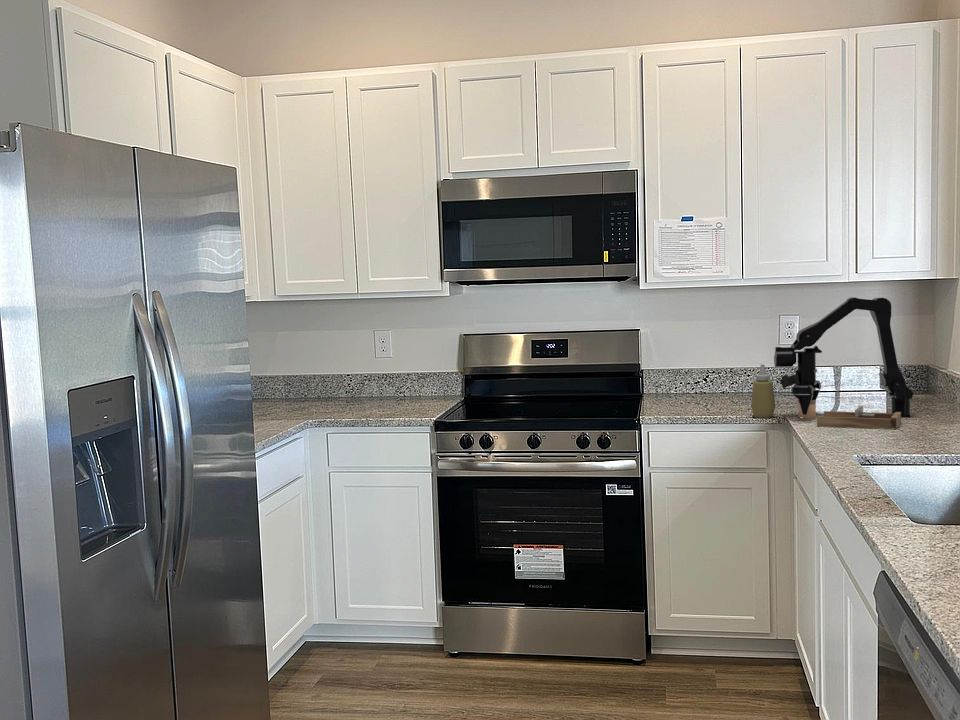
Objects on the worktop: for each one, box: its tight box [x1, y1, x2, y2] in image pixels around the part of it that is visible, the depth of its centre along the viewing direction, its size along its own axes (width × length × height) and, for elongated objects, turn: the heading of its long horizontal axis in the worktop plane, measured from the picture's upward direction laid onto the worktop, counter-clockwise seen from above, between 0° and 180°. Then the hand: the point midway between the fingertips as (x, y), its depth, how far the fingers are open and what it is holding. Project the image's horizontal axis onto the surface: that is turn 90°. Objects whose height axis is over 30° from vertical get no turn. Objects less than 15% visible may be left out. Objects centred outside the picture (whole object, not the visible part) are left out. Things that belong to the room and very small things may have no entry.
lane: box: [816, 410, 902, 430], centre depth 297 cm, size 14×23×4 cm, turn 60°
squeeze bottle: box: [750, 364, 776, 419], centre depth 321 cm, size 8×8×18 cm
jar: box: [797, 399, 817, 419], centre depth 316 cm, size 6×6×6 cm
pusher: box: [854, 405, 875, 418], centre depth 296 cm, size 10×5×4 cm, turn 150°
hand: (807, 412), depth 316 cm, fingers open, 9 cm apart
